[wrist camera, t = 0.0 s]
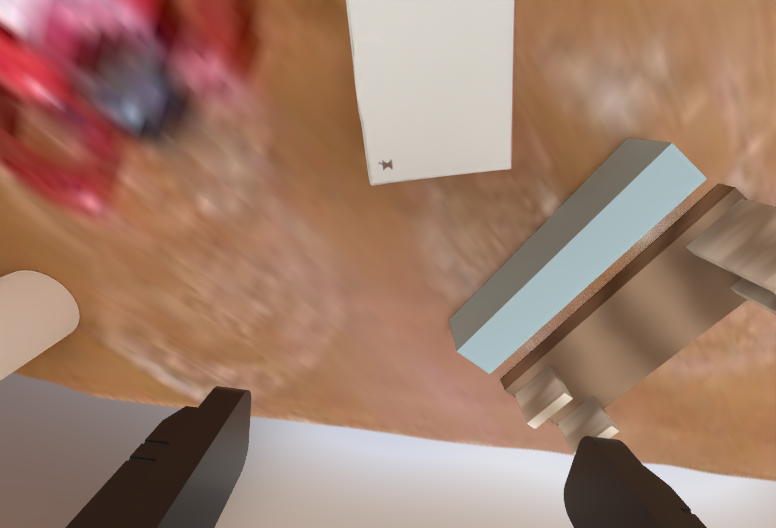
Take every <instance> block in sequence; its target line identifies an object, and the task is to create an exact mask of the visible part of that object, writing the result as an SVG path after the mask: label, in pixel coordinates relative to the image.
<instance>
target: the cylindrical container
mask: <svg viewBox="0 0 776 528" xmlns="http://www.w3.org/2000/svg"><path fill="white" fill-rule="evenodd" d="M79 319H80V314H79V309H78V305H77V303H76V301H75V299H74V298H73V296H72V295H71V294H70V292H69V291H68V290H67V289H66V288H65V287H64V286H63V285H62V284H60V283H59V282H57V281H56V280H55V279H53V278H51V277H49V276H47V275H45V274H42V273H39V272H35V271H28V270H22V271H16V272H13V273H10V274H8V275H5V276H3V277H1V278H0V380H2V379H3V378H5V377H6V376H8V375H9V374H11V373H12V372H14V371H15V370H17V369H18V368H20V367H21V366H23V365H24V364H26V363H27V362H29V361H30V360H32V359H33V358H35V357H36V356H38V355H39V354H41V353H42V352H44V351H45V350H47V349H48V348H49V347H51V346H52V345H54V344H55V343H57V342H58V341H60V340H61V339H63V338H64V337H66V336H67V335H69V334H70V333H72V332H73V331H74V330H75V329H76V328H77V326H78V323H79Z"/></svg>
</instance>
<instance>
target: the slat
mask: <svg viewBox="0 0 776 528" xmlns="http://www.w3.org/2000/svg"><path fill="white" fill-rule="evenodd" d="M706 179H707V178H706V177H705V176H704V175H703V174H702V173H701V172H700V171H699V170H698V169H697V168H696V167H695V166H694V165H693V164H692V163H691V162H690V161H689V160H688V158H687V157H686V156H685V155H684V154H683V153H682V152H681V151H680V150H679V149H678V148H677V147H676V146H675V145H674V144H673V143H670V142H661V141H651V140H641V139H632V138H627V139H626V140H625V141H624V142H623V143H622V144H621V145H620V146H619V147H618V148H617V149H616V150H615V151H614V152H613V153H612V154H611V155H610V156H609V157H608V158H607V159H606V161H605V162H604V163H603V164H602V165H601V166H600V167H599V168H598V169H597V170H596V171H595V172H594V173H593V174H592V175H591V176H590V177H589V178H588V179H587V180H586V181H585V182H584V183H583V184H582V185H581V186H580V187H579V188H578V189H577V190H576V191H575V192H574V193H573V194H572V195H571V196H570V197H569V198H568V199H567V200H566V201H565V202H564V203H563V204H562V205H561V206H560V207H559V208H558V210H557V211H556V212H555V213H554V214H553V215H552V216H551V217H550V218H549V219H548V220H547V221H546V222H545V223H544V224H543V225H542V226H541V227H540V228H539V229H538V230H537V231H536V232H535V233H534V234H533V235H532V236H531V237H530V238H529V239H528V240H527V241H526V242H525V243H524V244H523V245H522V246H521V247H520V248H519V249H518V250H517V251H516V252H515V253H514V254H513V255H512V256H511V257H510V259H509V260H508V261H507V262H506V263H505V264H504V265H503V266H502V267H501V268H500V269H499V270H498V271H497V272H496V273H495V274H494V275H493V276H492V277H491V278H490V279H489V280H488V281H487V282H486V283H485V284H484V285H483V286H482V287H481V288H480V289H479V290H478V291H477V292H476V293H475V294H474V295H473V296H472V297H471V298H470V299H469V300H468V301H467V302H466V303H465V304H464V305H463V306H462V308H461V309H460V310H459V311H458V312H457V313H456V314H455V315H454V316H453V317H452V318H451V319H450V320H449V322H450V326H451V330H452V334H453V338H454V342H455V347H456V351H457V352H458V353H460V354H461V355H463V356H464V357H466V358H467V359H468V360H470V361H471V362H473V363H474V364H476V365H477V366H479V367H480V368H481V369H483V370H484V371H486V372H487V373H489V374H490V373H492V372H493V371H494V370H495V369H496V368H497V367H498V366H499V365H500V364H502V363H503V362H504V361H505V360H506V359H507V358H508V357H509V356H510V355H512V354H513V353H514V352H515V351H516V350H517V349H518V348H519V347H520V346H522V345H523V344H524V343H525V342H526V341H527V340H528V339H529V338H530V337H532V336H533V335H534V334H535V333H536V332H537V331H538V330H539V329H540V328H542V327H543V326H544V325H545V324H546V323H547V322H548V321H549V320H550V319H552V318H553V317H554V316H555V315H556V314H557V313H558V312H559V311H561V310H562V309H563V308H564V307H565V306H566V305H567V304H568V303H569V302H571V301H572V300H573V299H574V298H575V297H576V296H577V295H578V294H579V293H581V292H582V291H583V290H584V289H585V288H586V287H587V286H588V285H589V284H591V283H592V282H593V281H594V280H595V279H596V278H597V277H598V276H599V275H601V274H602V273H603V272H604V271H605V270H606V269H607V268H608V267H609V266H611V265H612V264H613V263H614V262H615V261H616V260H617V259H618V258H619V257H621V256H622V255H623V254H624V253H625V252H626V251H627V250H628V249H629V248H631V247H632V246H633V245H634V244H635V243H636V242H637V241H638V240H639V239H641V238H642V237H643V236H644V235H645V234H646V233H647V232H648V231H649V230H651V229H652V228H653V227H654V226H655V225H656V224H657V223H658V222H660V221H661V220H662V219H663V218H664V217H665V216H666V215H667V214H668V213H670V212H671V211H672V210H673V209H674V208H675V207H676V206H677V205H678V204H680V203H681V202H682V201H683V200H684V199H685V198H686V197H687V196H688V195H690V194H691V193H692V192H693V191H694V190H695V189H696V188H697V187H698V186H700V185H701V184H702V183H703V182H704V181H705V180H706Z"/></svg>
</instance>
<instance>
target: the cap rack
mask: <svg viewBox="0 0 776 528" xmlns="http://www.w3.org/2000/svg"><path fill="white" fill-rule="evenodd" d="M746 300H749V301H751V302H753V303H755V304H757V305H759V306H760V307H762V308H764V309H766V310H768V311H770V312H772V313H774V314H775V315H776V207H773V206H769V205H765V204H761V203H757V202H753V201H749V200H747V199H746V198H745V197H744V196H743V195H742V194H741V193H740V192H739V191H738V190H737V189H736V188H735V187H731V186H726V185H722V184H718V185H717V186H716V187H715V188H713V189H712V190H711V191H710V192H709V193H708V194H707V195H706V196H704V197H703V198H702V199H701V200H700V201H699V202H698V203H697V204H696V205H694V206H693V207H692V208H691V209H690V210H689V211H688V212H687V213H686V214H684V215H683V216H682V217H681V218H680V219H679V220H678V221H677V222H676V223H674V224H673V225H672V226H671V227H670V228H669V229H668V230H667V231H665V232H664V233H663V234H662V235H661V236H660V237H659V238H658V239H657V240H655V241H654V242H653V243H652V244H651V245H650V246H649V247H648V248H647V249H645V250H644V251H643V252H642V253H641V254H640V255H639V256H638V257H637V258H635V259H634V260H633V261H632V262H631V263H630V264H629V265H628V266H626V267H625V268H624V269H623V270H622V271H621V272H620V273H619V274H618V275H616V276H615V277H614V278H613V279H612V280H611V281H610V282H609V283H608V284H606V285H605V286H604V287H603V288H602V289H601V290H600V291H599V292H598V293H596V294H595V295H594V296H593V297H592V298H591V299H590V300H589V301H588V302H586V303H585V304H584V305H583V306H582V307H581V308H580V309H579V310H577V311H576V312H575V313H574V314H573V315H572V316H571V317H570V318H569V319H567V320H566V321H565V322H564V323H563V324H562V325H561V326H560V327H559V328H557V329H556V330H555V331H554V332H553V333H552V334H551V335H550V336H549V337H547V338H546V339H545V340H544V341H543V342H542V343H541V344H540V345H538V346H537V347H536V348H535V349H534V350H533V351H532V352H531V353H530V354H528V355H527V356H526V357H525V358H524V359H523V360H522V361H521V362H520V363H518V364H517V365H516V366H515V367H514V368H513V369H512V370H511V371H510V372H508V373H507V374H506V375H505V376H504V377H503V378H502V379H501V381H502V384H503V386H504V389H505V390H506V391H507V392H509V393H510V394H512V395H513V396H515V397H516V398H517V401H518V403H519V406H520V408H521V410H522V413H523V415H524V418H525V420H526V422H527V424H528V425H530V426H531V427H533V428H535V429H536V428H537V427H538V426H540V425H541V424H542V423H543V422H545V421H546V420H547V419H549V420H551V421H552V422H554V423H555V424H557V425H558V426H559V427H560V429H561V431H562V433H563V435H564V437H565V439H566V440H567V442H568V444H569V446H570V448H571V450H572V452H573V454H574V455H575V454H576V451H577V448H578V445H579V442H580V440H581V439H582V438H583V437H584V436H593V437H600V438H608V439H609V438H610V437H612V436H613V435H615V434H616V433H617V432H619V430H618V428H617V427H616V425H615V424H614V423H613V421H612V420H611V418H610V417H609V415H608V414H607V413H606V411H605V410H604V408H605V407H607V406H608V405H609V404H611V403H612V402H613V401H615V400H616V399H617V398H618V397H620V396H621V395H622V394H624V393H625V392H626V391H628V390H629V389H630V388H632V387H633V386H634V385H636V384H637V383H638V382H640V381H641V380H642V379H643V378H645V377H646V376H647V375H649V374H650V373H651V372H653V371H654V370H655V369H657V368H658V367H659V366H661V365H662V364H663V363H665V362H666V361H667V360H668V359H670V358H671V357H672V356H674V355H675V354H676V353H678V352H679V351H680V350H682V349H683V348H684V347H686V346H687V345H688V344H690V343H691V342H692V341H693V340H695V339H696V338H697V337H699V336H700V335H701V334H703V333H704V332H705V331H707V330H708V329H709V328H711V327H712V326H713V325H715V324H716V323H717V322H718V321H720V320H721V319H722V318H724V317H725V316H726V315H728V314H729V313H730V312H732V311H733V310H734V309H736V308H737V307H738V306H740V305H741V304H742V303H743V302H745V301H746Z"/></svg>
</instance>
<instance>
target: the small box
mask: <svg viewBox="0 0 776 528" xmlns="http://www.w3.org/2000/svg"><path fill="white" fill-rule="evenodd" d="M346 6H347V14H348V23H349V32H350V41H351V50H352V59H353V68H354V78H355V88H356V95H357V103H358V111H359V115H360V120H361V126H362V132H363V140H364V147H365V154H366V162H367V168H368V175H369V182H370V184H371V185H372V186H373V185H380V184H387V183H394V182H402V181H410V180H418V179H427V178H435V177H443V176H451V175H459V174H468V173H476V172H486V171H495V170H505V169H511V168H512V163H513V113H514V67H515V15H516V0H346Z"/></svg>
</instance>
